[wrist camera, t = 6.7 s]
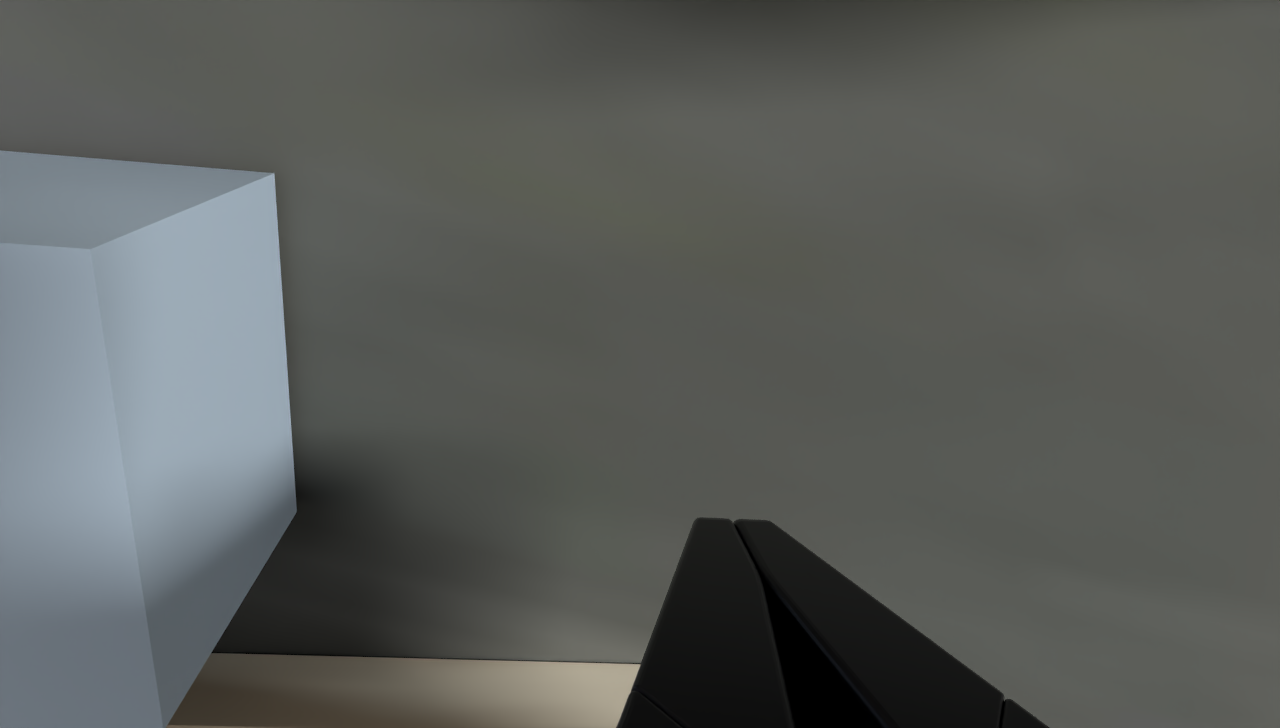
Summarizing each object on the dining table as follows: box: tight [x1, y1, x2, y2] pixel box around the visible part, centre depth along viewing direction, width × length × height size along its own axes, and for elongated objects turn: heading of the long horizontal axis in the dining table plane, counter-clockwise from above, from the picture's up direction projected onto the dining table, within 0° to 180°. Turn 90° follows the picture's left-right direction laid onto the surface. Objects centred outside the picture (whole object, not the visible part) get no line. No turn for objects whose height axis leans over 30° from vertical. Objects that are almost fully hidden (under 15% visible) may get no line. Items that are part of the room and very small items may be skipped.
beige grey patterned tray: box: [166, 653, 641, 728], centre depth 11 cm, size 19×19×5 cm
